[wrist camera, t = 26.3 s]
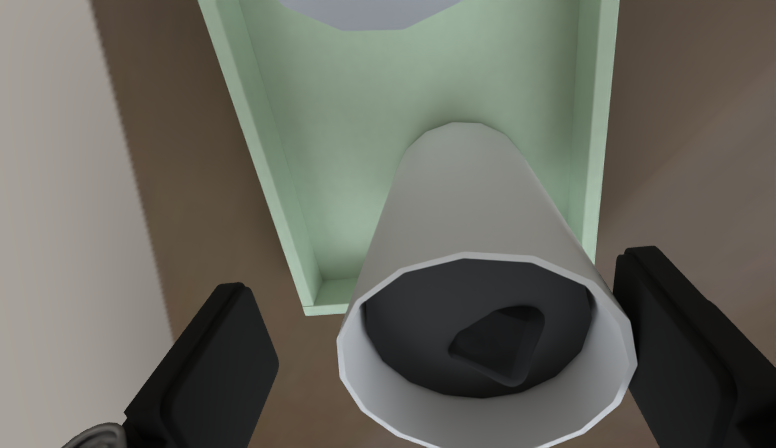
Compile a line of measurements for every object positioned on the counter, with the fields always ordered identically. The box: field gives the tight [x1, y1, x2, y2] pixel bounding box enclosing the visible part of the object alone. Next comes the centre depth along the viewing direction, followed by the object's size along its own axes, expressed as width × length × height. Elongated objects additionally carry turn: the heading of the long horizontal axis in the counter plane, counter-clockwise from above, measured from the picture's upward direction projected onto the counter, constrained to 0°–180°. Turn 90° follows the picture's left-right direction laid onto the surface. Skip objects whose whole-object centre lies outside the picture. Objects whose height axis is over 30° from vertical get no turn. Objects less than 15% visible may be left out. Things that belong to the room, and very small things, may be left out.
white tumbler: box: [337, 122, 638, 448], centre depth 14 cm, size 7×7×10 cm
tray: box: [198, 0, 620, 316], centre depth 15 cm, size 21×13×2 cm, turn 10°
